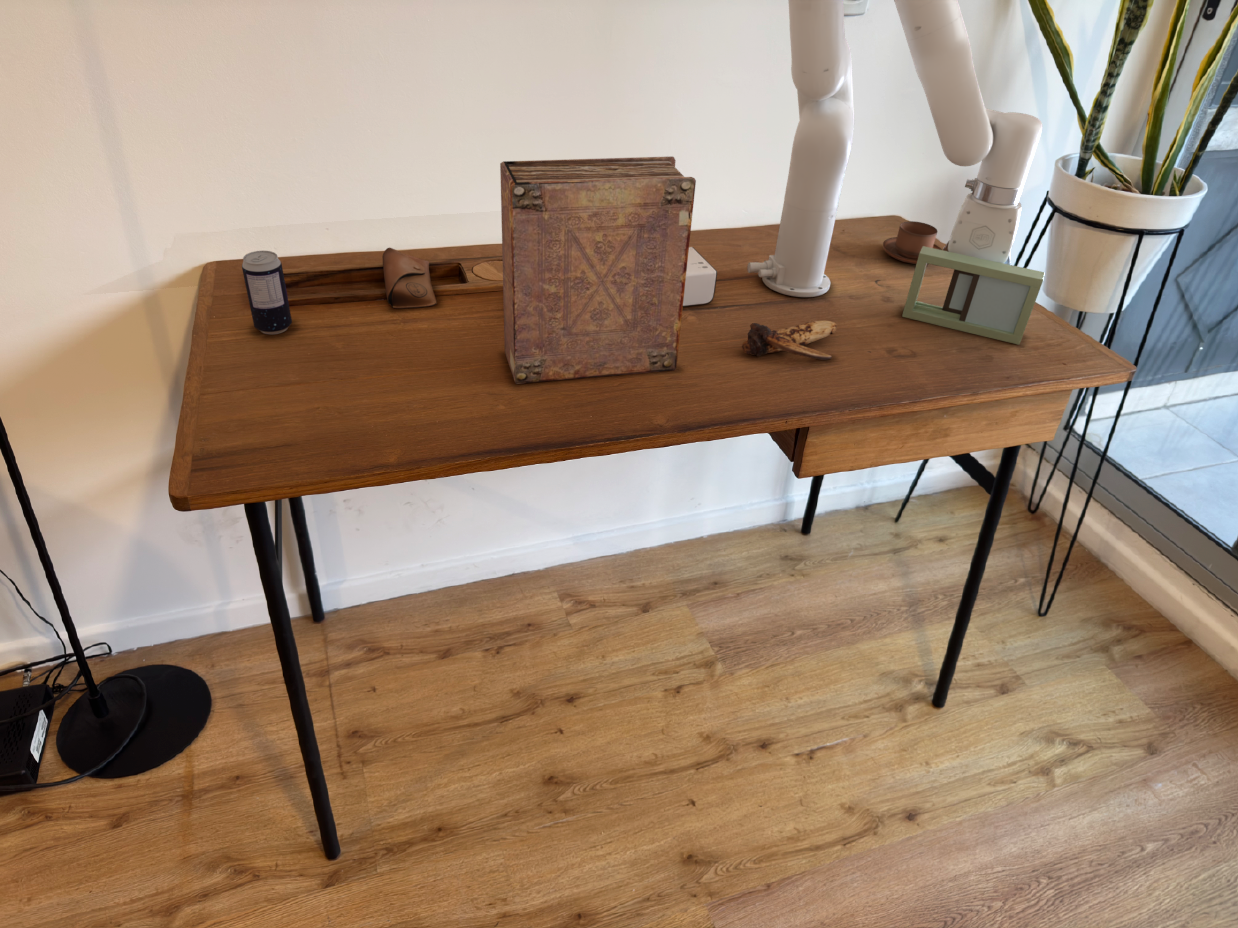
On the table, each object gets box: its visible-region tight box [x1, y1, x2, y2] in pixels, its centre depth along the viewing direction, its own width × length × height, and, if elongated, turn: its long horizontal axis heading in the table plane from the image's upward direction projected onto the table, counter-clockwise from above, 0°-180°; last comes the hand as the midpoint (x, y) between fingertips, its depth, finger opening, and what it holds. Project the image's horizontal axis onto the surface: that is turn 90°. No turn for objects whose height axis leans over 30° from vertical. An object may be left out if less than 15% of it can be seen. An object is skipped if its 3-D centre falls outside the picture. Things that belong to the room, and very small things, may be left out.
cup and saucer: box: [882, 220, 943, 265], centre depth 177 cm, size 12×12×6 cm
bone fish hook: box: [741, 319, 838, 361], centre depth 143 cm, size 9×5×18 cm
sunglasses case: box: [382, 247, 437, 310], centre depth 154 cm, size 18×7×7 cm, turn 15°
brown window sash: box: [942, 269, 974, 315], centre depth 154 cm, size 9×7×8 cm
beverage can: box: [241, 250, 293, 335], centre depth 136 cm, size 6×6×12 cm
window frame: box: [901, 246, 1045, 346], centre depth 152 cm, size 20×4×12 cm, turn 65°
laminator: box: [683, 246, 718, 308], centre depth 154 cm, size 34×12×6 cm, turn 109°
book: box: [499, 155, 697, 385], centre depth 128 cm, size 25×9×30 cm, turn 106°
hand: (964, 292), depth 159 cm, fingers closed
